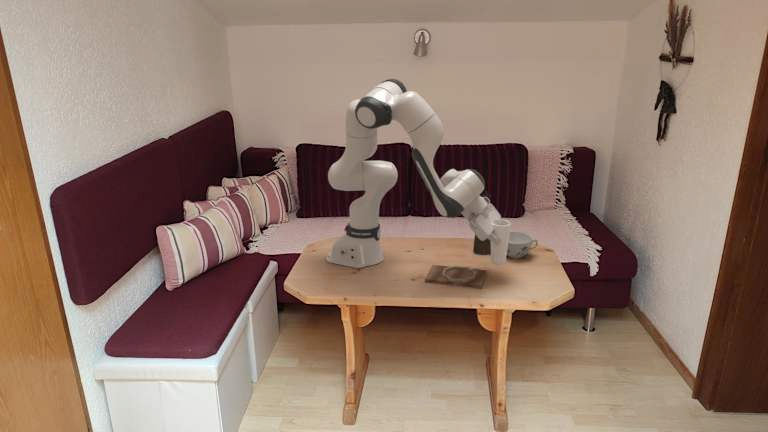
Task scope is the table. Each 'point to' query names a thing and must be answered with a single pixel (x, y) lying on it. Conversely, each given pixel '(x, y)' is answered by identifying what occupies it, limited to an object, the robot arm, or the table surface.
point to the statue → (479, 245)
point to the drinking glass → (501, 249)
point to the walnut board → (456, 276)
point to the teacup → (520, 244)
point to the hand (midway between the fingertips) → (501, 239)
